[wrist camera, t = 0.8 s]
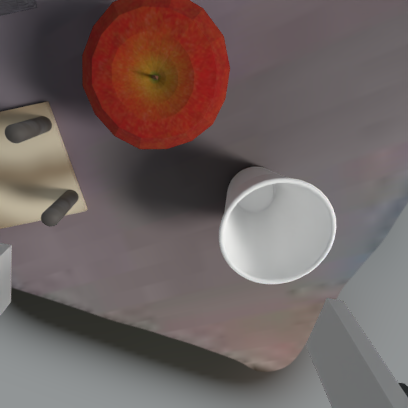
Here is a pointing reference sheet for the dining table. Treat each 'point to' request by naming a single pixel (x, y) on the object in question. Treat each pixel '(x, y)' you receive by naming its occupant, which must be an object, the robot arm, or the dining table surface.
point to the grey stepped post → (15, 6)
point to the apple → (155, 71)
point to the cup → (275, 226)
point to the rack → (35, 169)
